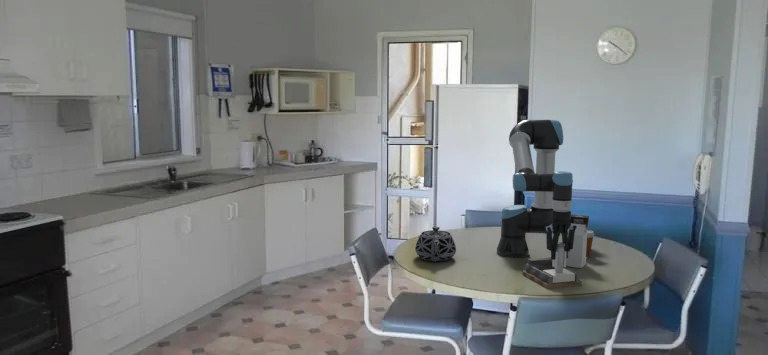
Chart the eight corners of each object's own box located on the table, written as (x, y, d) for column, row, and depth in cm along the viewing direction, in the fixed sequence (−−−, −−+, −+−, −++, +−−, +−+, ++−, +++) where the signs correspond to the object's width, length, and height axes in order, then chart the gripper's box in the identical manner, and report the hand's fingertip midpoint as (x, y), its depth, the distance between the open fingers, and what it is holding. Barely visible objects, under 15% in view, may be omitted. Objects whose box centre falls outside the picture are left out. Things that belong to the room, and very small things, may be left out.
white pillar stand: (542, 277, 259) (543, 241, 257) (563, 275, 262) (565, 240, 259) (552, 282, 251) (554, 246, 249) (574, 280, 254) (576, 244, 252)
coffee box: (567, 247, 315) (569, 216, 313) (569, 244, 321) (570, 213, 319) (586, 249, 312) (588, 217, 309) (587, 246, 317) (589, 215, 315)
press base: (522, 274, 269) (522, 259, 268) (555, 271, 274) (555, 256, 273) (546, 288, 250) (547, 272, 249) (581, 285, 255) (582, 269, 254)
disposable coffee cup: (594, 258, 294) (595, 233, 293) (573, 257, 296) (574, 232, 295) (592, 253, 304) (593, 229, 302) (571, 252, 306) (572, 228, 304)
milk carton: (581, 268, 278) (583, 226, 276) (565, 266, 282) (567, 224, 279) (585, 264, 284) (587, 223, 282) (569, 262, 288) (571, 221, 285)
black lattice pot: (453, 249, 310) (454, 220, 308) (457, 267, 279) (458, 234, 277) (415, 249, 311) (415, 219, 309) (415, 266, 280) (415, 233, 278)
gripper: (548, 212, 247) (546, 270, 250) (584, 210, 251) (581, 267, 254) (538, 209, 254) (536, 265, 257) (573, 207, 258) (571, 262, 261)
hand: (559, 266), depth 256 cm, fingers closed on white pillar stand, 3 cm apart
